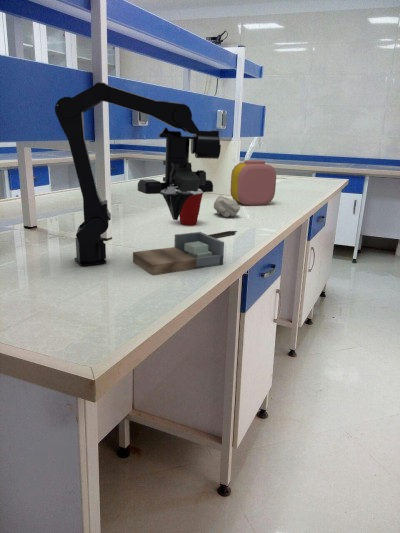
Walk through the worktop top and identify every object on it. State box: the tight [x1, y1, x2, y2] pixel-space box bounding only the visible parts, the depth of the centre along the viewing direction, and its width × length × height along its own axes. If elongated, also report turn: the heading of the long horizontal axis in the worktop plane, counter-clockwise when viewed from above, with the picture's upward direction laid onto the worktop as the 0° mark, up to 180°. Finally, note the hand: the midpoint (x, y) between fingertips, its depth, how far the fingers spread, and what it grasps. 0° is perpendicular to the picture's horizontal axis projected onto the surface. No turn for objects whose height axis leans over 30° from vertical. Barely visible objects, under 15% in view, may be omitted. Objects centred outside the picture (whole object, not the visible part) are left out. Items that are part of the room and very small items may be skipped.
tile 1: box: [184, 241, 208, 255], centre depth 118 cm, size 4×4×2 cm
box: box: [173, 231, 225, 269], centre depth 118 cm, size 8×12×6 cm, turn 30°
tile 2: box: [189, 251, 212, 258], centre depth 118 cm, size 4×4×2 cm
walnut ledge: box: [132, 246, 197, 276], centre depth 114 cm, size 12×12×2 cm
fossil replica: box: [213, 195, 241, 218], centre depth 176 cm, size 12×8×10 cm
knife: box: [208, 230, 238, 239], centre depth 143 cm, size 25×6×1 cm, turn 127°
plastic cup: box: [179, 189, 205, 226], centre depth 159 cm, size 11×11×12 cm
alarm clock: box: [229, 159, 277, 206], centre depth 203 cm, size 18×11×19 cm, turn 108°
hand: (175, 219), depth 115 cm, fingers closed
